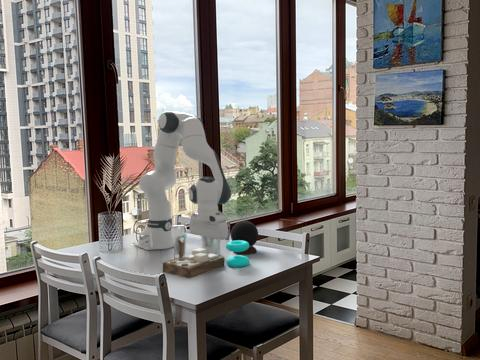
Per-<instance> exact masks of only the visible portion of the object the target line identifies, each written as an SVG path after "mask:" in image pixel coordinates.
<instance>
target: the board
mask: <svg viewBox="0 0 480 360" xmlns="http://www.w3.org/2000/svg"><path fill="white" fill-rule="evenodd" d="M161 263H162V273H166V274H171V275H174V276H179V277H182V278H187V279H192V278H195V277H198V276H199V275H203V274H206V273H209V272H211V271H214V270H218V269H220V268H223V267H225V265H226V264H225V256H222V255H219V256H218V258H214V259H209V260H208V261H205V262H202V263H200V262H197V261H194V259H192V260H186V259H184V258H182V257H179V258H176V259H174V258H173V259H170V260H166V261H163V262H161Z"/></svg>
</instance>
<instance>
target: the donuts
mask: <svg viewBox="0 0 480 360" xmlns="http://www.w3.org/2000/svg"><path fill="white" fill-rule="evenodd" d="M225 248H226V249H227V250H228V251H230V252H242V251H245V250H247V249H248V248H249V243H248V242H246V241H242V240H235V241H232V240H230V241H228V242H227V243H226V245H225ZM226 264H227V266H229V267H231V268H243V267H246V266H248V265H249V264H250V258H249V257H248V256H247V255H239V254H235V255H232V256H229V257H228V258H227V260H226Z"/></svg>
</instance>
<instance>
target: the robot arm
mask: <svg viewBox="0 0 480 360" xmlns="http://www.w3.org/2000/svg"><path fill="white" fill-rule="evenodd" d="M158 127H159V132H158V135H157V139H156V142H155V145H154V150H153V154H152V157H153V160H154V169H153V170H152V171H147V172H146V173H144V174H142V176H141V177H140V179H139V181H138V183H139V188H140V190H141V191H142V192H143V194H144V196H145V199H146V202H147V207H148V208H147V209H148V219H146V220H145V223H147V225H146V227H145V228H144V229H143V230H142V231H141V232H140V233H138V234H139V236H138V241H137V242H135V243H134V246H135V247H138V248H142V249H144V250H146V251H150V250H151V251H152V250H166V249H171V248H174V246H173V241H172V226H173V218H172V210H171V203H170V201H169V200H168V197H167V194H166V191H167V190H170V189H171V188H173V186H175V184H176V182H177V177H176V173H175V161H176V157H177V155H178V148H179V146H180V145H179V144H180V140H181V144H182V149H183V152H184V154H185V155H186V156H187V157H188V158H189V159H191V160H193V161H196V162H200V163H202V164H204V165H207V166H208V167H209V168H210V170H211V172H212V175H213V176H200V177H199V178H198V179H197V182H196V183H195V182H194V183H193V184H191V186H190V187H189V188H188V189H189V190H188V191H189V192H188V193H189V195H188V196H189V201H190V202H191V203H193V204H194V205H197V210H196V211H197V212H193V213H192V214H191V215H190V221H189V233H190V234H191V235H195V236H200V237H201V240H202V239H203V241H204V243H205V247H212V243H213V241H214V239H219V240H220V241H222V240H227V239H228V237H229V227H228V226H229V225H228V222H227V221H228V216H227V215H226V214H225V213H223V212H221V211H220V210H219V206H218V205H225V204H227V203H228V202H229V201H230V199H231V198H232V190H231V186H230V185H229V183H228V180H227V178H226V176H225V173H224V169H223V167H222V164H221V161H220V158H219V156H218V155H217V154H218V153H216V151H215V150H214V149H212V147H210V145H209V144H208V142H207V137H206V133H205V129H204V123H203V120H202V118H201V117H199V116H198V115H194V114H189V113H186V112H180V111H172V110H168V111H167V110H166V111H163V112H162V113H161V114H160V115H159V118H158ZM207 238H208V239H209V242H208V239H207Z"/></svg>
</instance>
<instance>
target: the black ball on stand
mask: <svg viewBox="0 0 480 360" xmlns="http://www.w3.org/2000/svg"><path fill="white" fill-rule="evenodd" d="M258 238H259V230H258V228H257V226H256V225H255V224H254V223H252V221H249V220H241V221H240V220H239V221H238V222H236V223H235V224H234V225H233V226H232V228H231V230H230V239H231V241H235V240H242V241H246V242H248V243H249V248H248V249H247V250H245V251H242V252H233V254H235V255H243V256H247V255H253V254H256V253H257V251H258V250H257V249H256V247H255V244H256V243H257V241H258Z"/></svg>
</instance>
